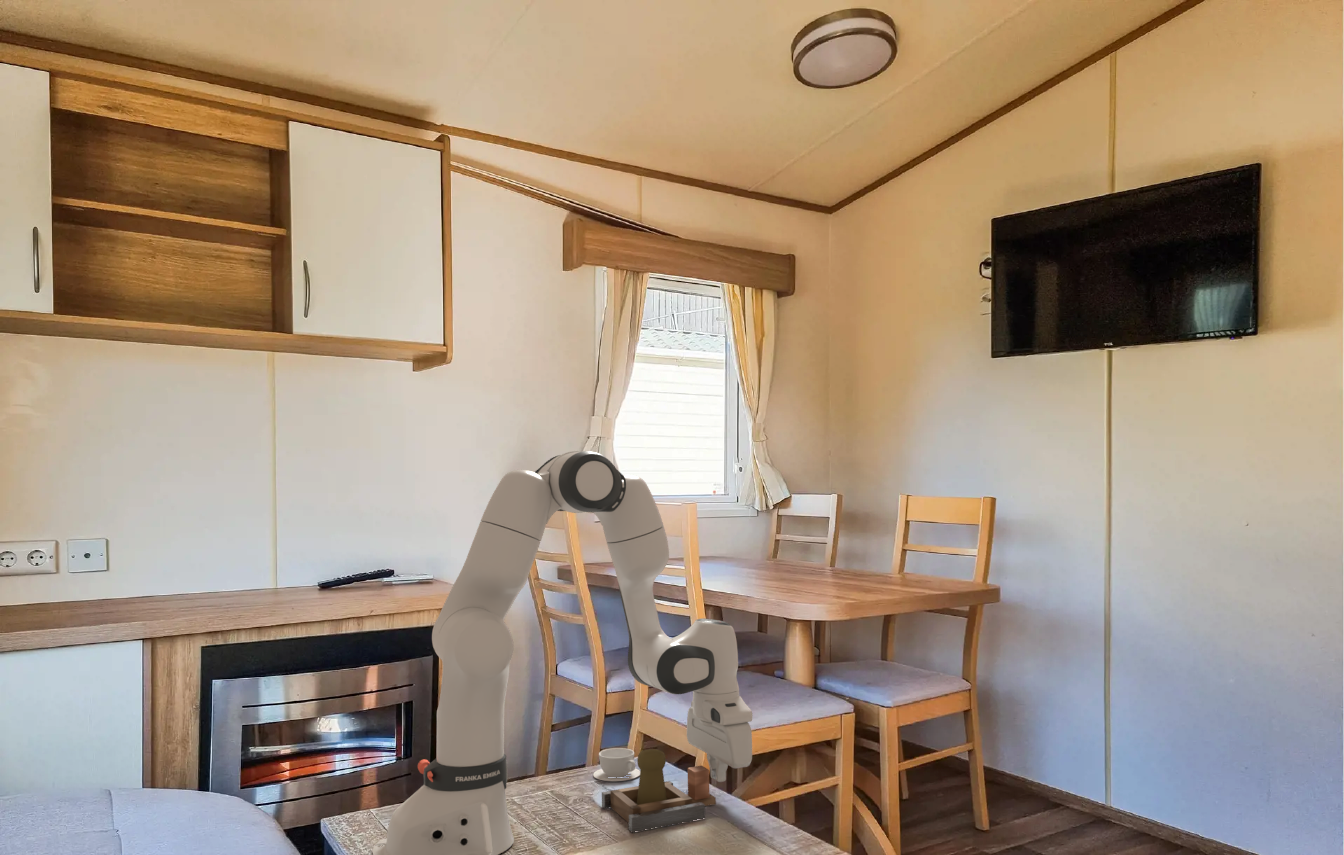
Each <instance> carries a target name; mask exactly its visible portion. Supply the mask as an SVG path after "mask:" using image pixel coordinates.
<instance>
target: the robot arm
mask: <svg viewBox="0 0 1344 855" xmlns="http://www.w3.org/2000/svg"><path fill="white" fill-rule="evenodd" d="M556 512H567V513H571V514H579V513H580V514H581V513H593V514H594V515H595V516H596V517H597V518H598V520H599V522H600V524H601V526H602V529H603V533H604V537H605V541H606V545H607V548H608V552H609V554H610V558H611V561H612V564H613V565H612V566H613V568H614V571H615V575H616V579H617V583H618V590H619V594H620V599H621V604H622V608H623V613H624V618H625V622H626V626H627V632H628V651H627V665H628V668H629V669H628V670H629V671H630V673H631V675H632V677H633V678H634V679H635V680H636V681H637V682H639V683H640V684H642V685H644V686H647V687H652V688H655V689H658V690H660V691H663V692H665V693H667V694H670V695H685V694H688V693H690V692H691V693H692V701H690V703H691V704H690V707H689V708H688V711H687V717H686V718H687V721H686V738H687V742H688V744H690V745H691V746H693V747H695V748H697V749H698V750H700V751H702V752H703V753H705V754H706V759H707V760H706V761H707V763H708V766H709V775H710V778H711V779H713V780H715V781H717V782H719V783H722V782H725V781H726V780H727V769H728V766H729V767H731V768H732V769H741V768H748V767H749V766H750V765H751V762H752V760H753V734H752V728H751V725H750V723H749V722H753V711H752V709H751V708H750V707H749V706H748V705H747V704H746V702H745V701H744V699H743V698H742V696H741V695H740V687H739V683H738V679H737V673H738V668H739V653H738V652H739V651H738V642H737V638H736V636H737V635H736V633H735V632H736V631H735V629H734V627H733V626H732V625H731V624H730V623H729V622H727V621H723V620H717V619H712V618H698V619H695V621H694V622H693V623H692V625H691V626H689V627H688V628H687V629H686V630H684V631H683V632H681V633H680V634H679V635H677V636H674V637H672V638H671V637H669V635H667V634H666V633H665V632H664V630H663V629H662V627H661V623H660V619H659V613H658V610H657V605H656V601H655V596H654V590H653V589H654V583H655V581H656V578H657V577H658V576H659V575H661V574H662V572H663V571H664V570H665V569H666V567H667V564H668V563H669V559H670V551H669V550H670V549H669V543H668V542H669V540H668V537H667V533H666V529H665V526H664V523H663V519H662V516H661V514H660V511H659V508H658V506H657V503H656V501H655V499H654V496H653V494H652V492H651V490H650V489H649V486H648V484H647V483H646V481H645V480H644V479H643V478H641V477H640V476H637V475H634V474H633V475H632V474H622V473H621V471H620V470H618V469H617V467H616V466H615V465H614V464H613V463H612V461H611V460H610V459H608V458H607V457H606V456H605V455H603V454H601V453H599V452H596V451H590V450H587V451H586V450H584V451H578V450H577V451H575V450H574V451H568V452H565V453H562V454H559V455H556V456H553V457H551V458H549V459H548V460H547V461H546V462H544V463H543V464H542V465H541V466H540V467H539V468H538V469H536V470H535V471H532V470H528V469H516V470H515V469H514V470H510V471H509V472H507V473H505V475H504V476H503V477H502V478H501V479H500V481H499V483H498V484H497V486H496V488H495V490H494V491H493V493H492V494H491V497H490V499H489V501H488V502H487V505H486V507H485V510H484V512H483V514H482V517H481V519H480V522H479V524H478V527H477V530H476V532H475V535H474V536H473V537H474V538H473V540H472V542H471V545H470V548H469V550H468V554H467V556H466V559H465V560H464V563H463V566H462V567H461V570H460V572H459V573H458V576H457V578H456V580H455V582H454V584H453V586H452V587H451V588H450V591H449V593H448V594H447V597H446V600H445V602H444V604H443V606H442V608H441V610H440V613H439V614H438V617H437V619H436V621H435V622H434V624H433V628H432V632H431V643H432V647H433V651H434V652H435V654H436V655H437V656H438V658H439V659H440V660H441V662H442V675H441V685H440V694H439V701H438V707H437V710H436V758H435V759H433V760H432V761H431V762H430V761H429V760H428V759H426V758H425V759H421V760H419V762H418V763H417V769H418V771H419V773H420V774H422V775H423V785H421V786H420V788H418V789H417V790H416V791H415V792H414V793H413V794H412V795H411V796H410V797H408V798H407V799H406V800H405V801H404V802H402V804H400V805H399V806H398V807H396V808H395V809H394V811H393V812H392V814H391V816H390V820H389V822H388V823H389V824H388V828H387V832H386V838H383V839H380V840H378V841H377V842H376V843H375V844H374V846H373V848H372V852H373V855H500V854H501V853H504V852H505V851H507V850H508V849H509V848H511V846H513V843H515V837H514V835H513V831H512V827H511V823H510V818H509V812H508V804H507V797H506V789H507V783H508V760H507V754H506V753H505V703H506V695H507V690H508V682H509V675H510V669H511V668H510V667H511V661H512V658H513V653H514V647H515V646H514V639H513V636H512V632H511V630H510V628H509V626H508V624H507V623H506V622H505V619H506V617H507V615H508V613H509V611H510V609H511V608H512V606H513V604H514V603H515V601H516V598H517V597H518V595H519V594H520V592H521V591H522V590H523V589H524V587H525V585H526V583H527V582H528V578H529V576H530V572H531V570H532V567H533V564H534V561H535V559H536V555H537V553H538V550H539V547H540V545H541V542H542V538H543V536H544V533H545V529H546V526H547V524H548V523H549V521H550V519H551V518H552V516H553V515H555V513H556ZM381 845H382V846H383V847H378V846H381Z"/></svg>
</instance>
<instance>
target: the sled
mask: <svg viewBox="0 0 1344 855" xmlns="http://www.w3.org/2000/svg"><path fill="white" fill-rule="evenodd" d="M664 783H665V790H666V797H667V800H664V801H658V802H652V803H647V804H641V805H637V797H638V788H639V785H636V786H630V787H624V788H619V789H614V790H610V791H611V808H610V809H612V810H613V811H614V812H615V813H617V814H618V815H619V817H621V818H622V819H624V820H625V822H627V823H628V824H629V815H632V814H638V813H643V812H649V811H655V810H660V809H666V808H671V807H677V806H682V805H688V804H694V803H699V802H702V803H703V804H705V807H708V806H713V805H716V802H717V801H716V800H717V799H716V796H714V795H712V794H711V793H710V769H709V768H707V767H705V766H703V765H697V766H690V767H687V794H686V793H685V792H683V791H681V789H679V788H677V787H676V786H674V784H673V785H672V784H670V783H669V782H667V781H664Z"/></svg>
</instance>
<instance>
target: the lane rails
mask: <svg viewBox="0 0 1344 855" xmlns="http://www.w3.org/2000/svg"><path fill="white" fill-rule="evenodd" d="M667 782H669V783H670V784H672V785H673V786H674V783H673V782H672V781H670V780H668V781H667ZM601 806H603V807H604V808H603V807H602V808H603V809H610V808H609V807H611V790H606V791H601ZM703 818H705V819H706V806H705V804H703V803H702V802H699V803H694V804H688V805H682V806H677V807H671V808H666V809H660V810H655V811H649V812H643V813H638V814H632V815H629V823H628V831H629V830H630V831H632V832H635V831H641V832H643V831H642V830H645V829H651V828H655V827H661V826H667V827H669V826H668V825H672V824H677V825H679V824H678V823H682V822H688V823H691V822H690V821H693V820H697V819H703ZM693 822H694V821H693ZM672 826H673V825H672ZM651 830H652V829H651ZM630 831H629V832H630ZM632 832H631V833H632ZM635 833H636V832H635Z"/></svg>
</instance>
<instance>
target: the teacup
mask: <svg viewBox="0 0 1344 855" xmlns="http://www.w3.org/2000/svg"><path fill="white" fill-rule="evenodd" d="M598 758H599V759H598V760H599V764H600V769H597V770H595V771H594V772H593V774H592V776H593V777H594V779H597V780H600V781H604V782H623V781H630V780H633V779H636V778H639V777H640V769H638V768H636V762H635V751H634V750H633V749H629V748H625V747H613V748H606V749H603V750H601V751H599V752H598ZM628 773H631V774H628ZM626 775H631V776H626ZM624 776H626V777H629V778H617V777H624ZM608 777H616V778H608Z"/></svg>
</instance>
